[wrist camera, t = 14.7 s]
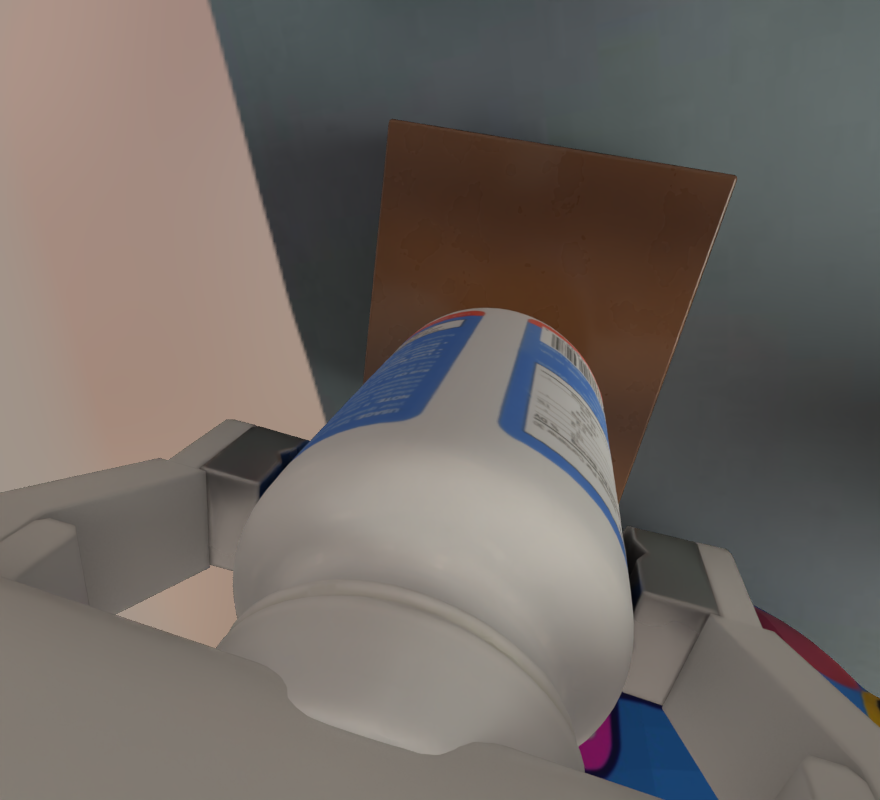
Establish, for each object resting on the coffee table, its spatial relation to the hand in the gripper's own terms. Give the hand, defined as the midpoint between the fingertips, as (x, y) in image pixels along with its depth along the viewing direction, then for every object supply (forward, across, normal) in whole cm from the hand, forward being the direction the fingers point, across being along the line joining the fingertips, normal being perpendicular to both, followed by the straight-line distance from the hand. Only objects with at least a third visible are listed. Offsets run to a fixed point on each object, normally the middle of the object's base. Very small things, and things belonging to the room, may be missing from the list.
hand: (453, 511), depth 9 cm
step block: (+16, 0, 0) cm, 16 cm away
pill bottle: (+5, 0, 0) cm, 5 cm away
